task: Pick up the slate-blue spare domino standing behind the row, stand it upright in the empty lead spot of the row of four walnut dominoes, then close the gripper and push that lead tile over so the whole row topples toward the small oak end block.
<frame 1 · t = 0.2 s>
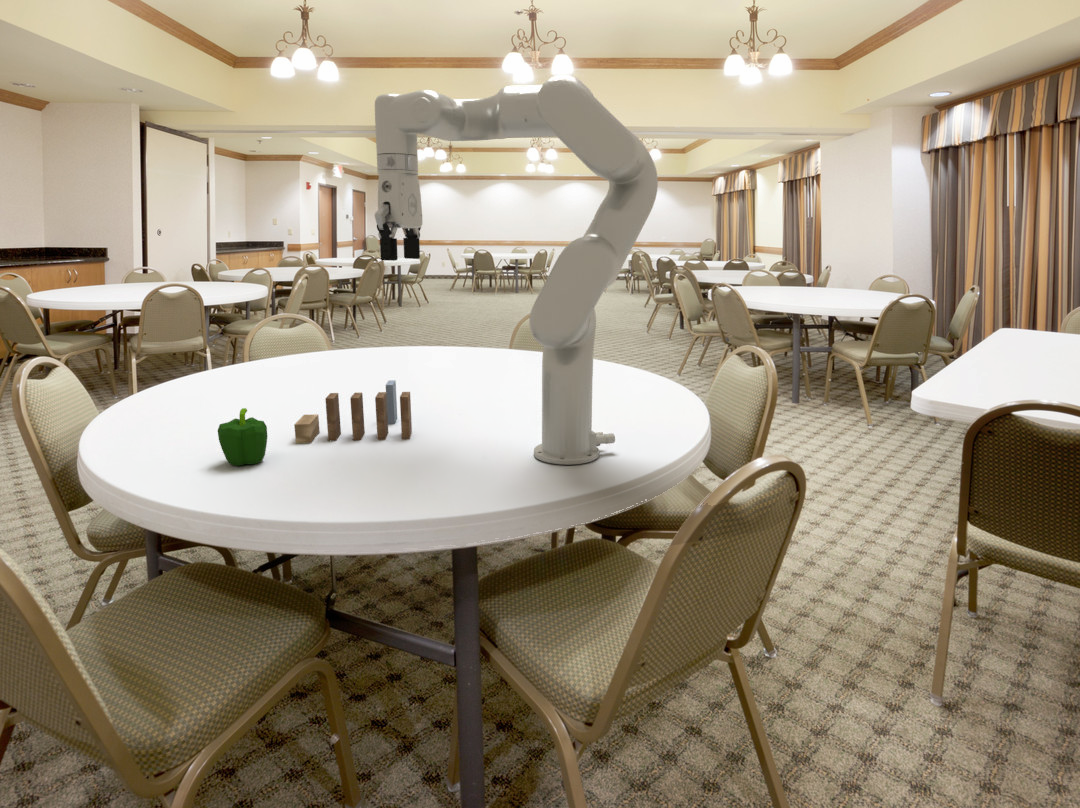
hand: (401, 259, 137), 37 cm above the table, fingers open, 9 cm apart
walnut tile 3: (359, 436, 149), on the table
oak end block: (308, 437, 148), on the table
slate tile: (392, 421, 162), on the table
bell pepper: (246, 463, 133), on the table
walnut tile 1: (406, 435, 150), on the table
walnut tile 2: (383, 436, 150), on the table
walnut tile 4: (334, 437, 149), on the table
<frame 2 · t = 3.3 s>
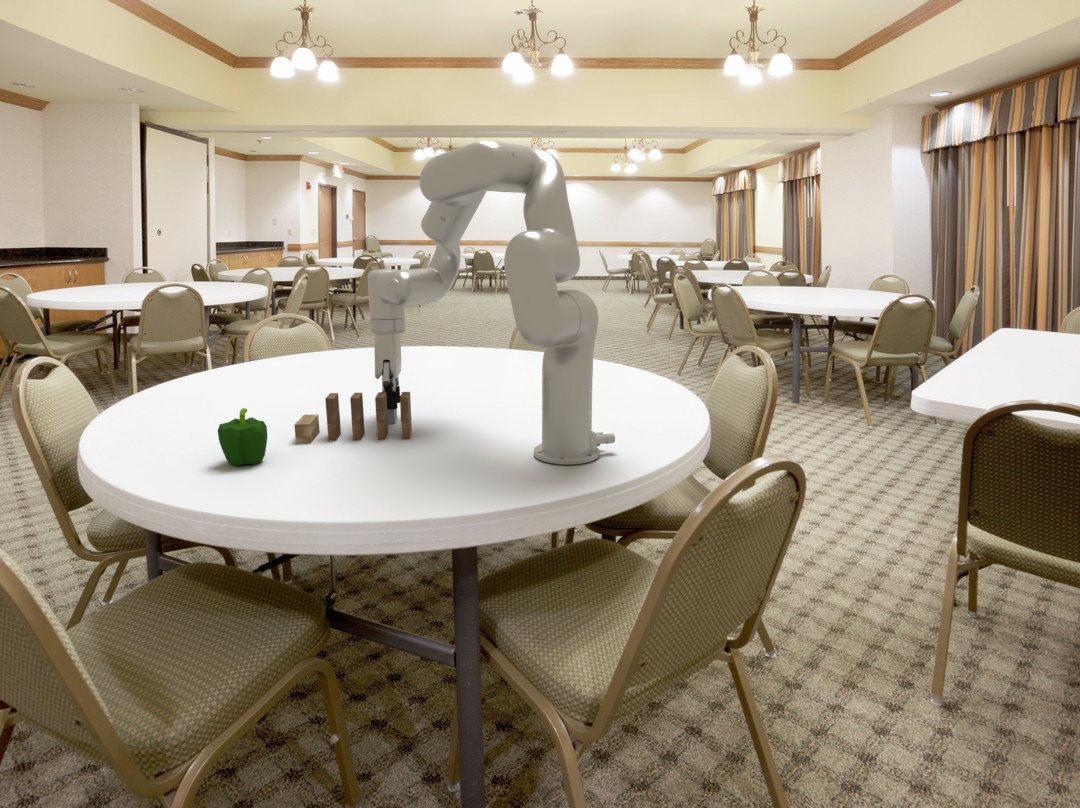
hand: (391, 405, 161), 4 cm above the table, fingers closed on slate tile, 4 cm apart
slate tile: (392, 421, 162), on the table, touching gripper
everything else where it was.
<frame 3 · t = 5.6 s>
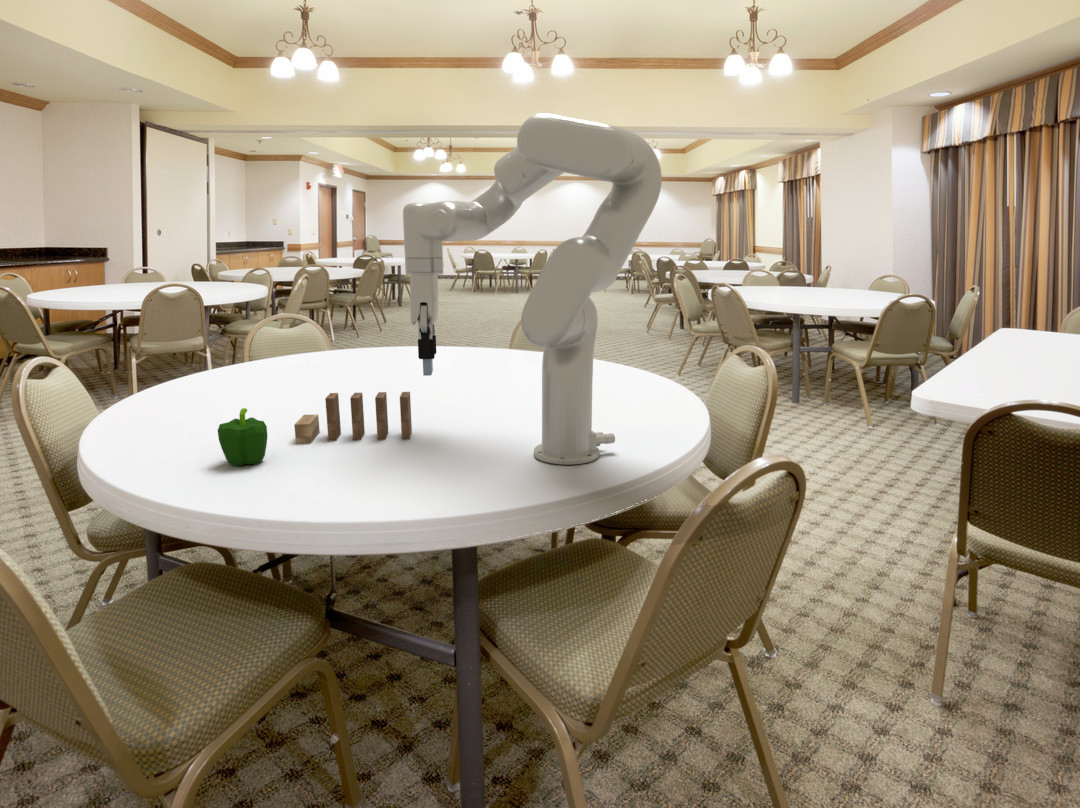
hand: (427, 355, 146), 17 cm above the table, fingers closed on slate tile, 4 cm apart
slate tile: (428, 373, 147), point 13 cm above the table, touching gripper
everything else where it was.
when the fingers open (5 cm above the table, at t = 8.3 s): slate tile stays where it is, on the table.
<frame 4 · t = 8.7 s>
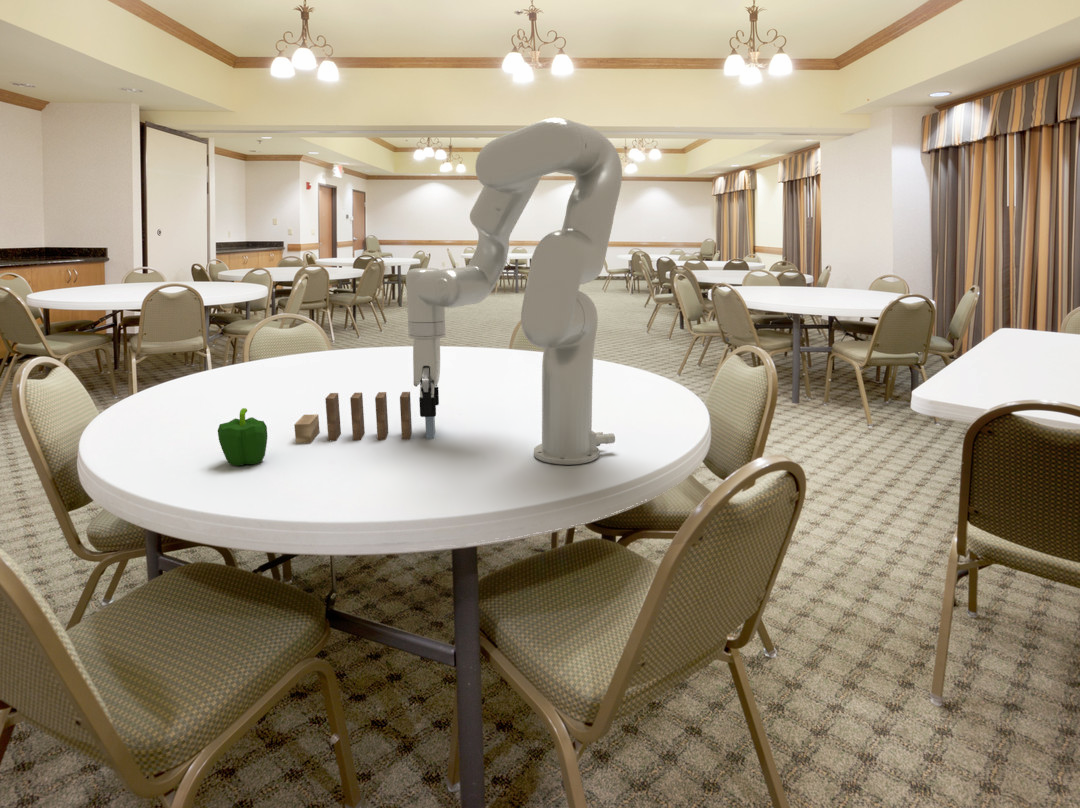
hand: (429, 410, 149), 5 cm above the table, fingers open, 9 cm apart
slate tile: (430, 435, 150), on the table
everything else where it was.
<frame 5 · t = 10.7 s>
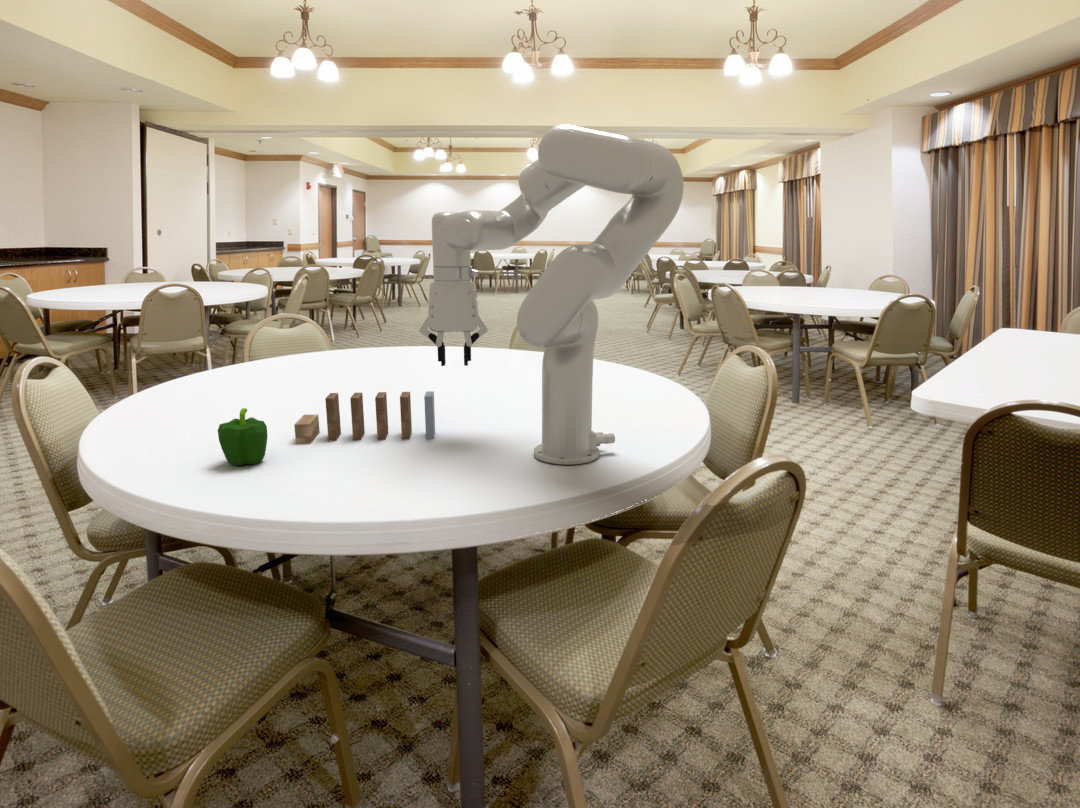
hand: (454, 363, 147), 15 cm above the table, fingers open, 4 cm apart
nothing on the table moved.
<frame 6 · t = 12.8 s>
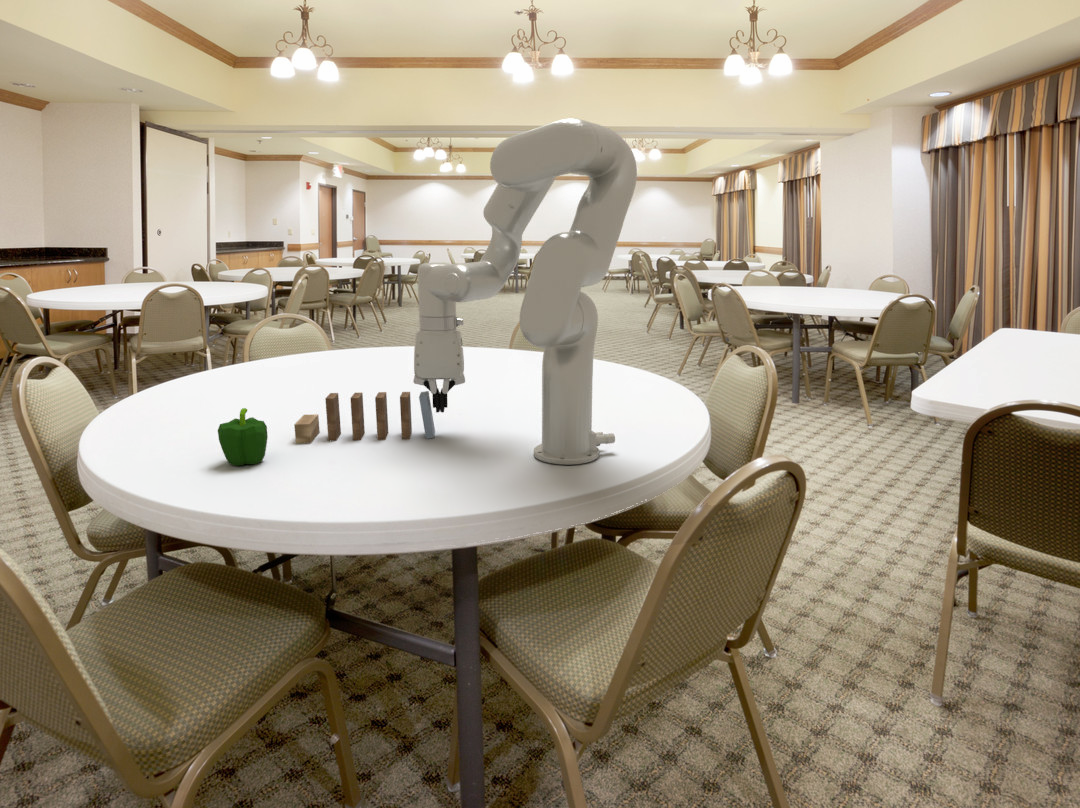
hand: (440, 410, 149), 5 cm above the table, fingers closed
slate tile: (430, 434, 150), on the table, tilted 7°, touching gripper
everything else where it was.
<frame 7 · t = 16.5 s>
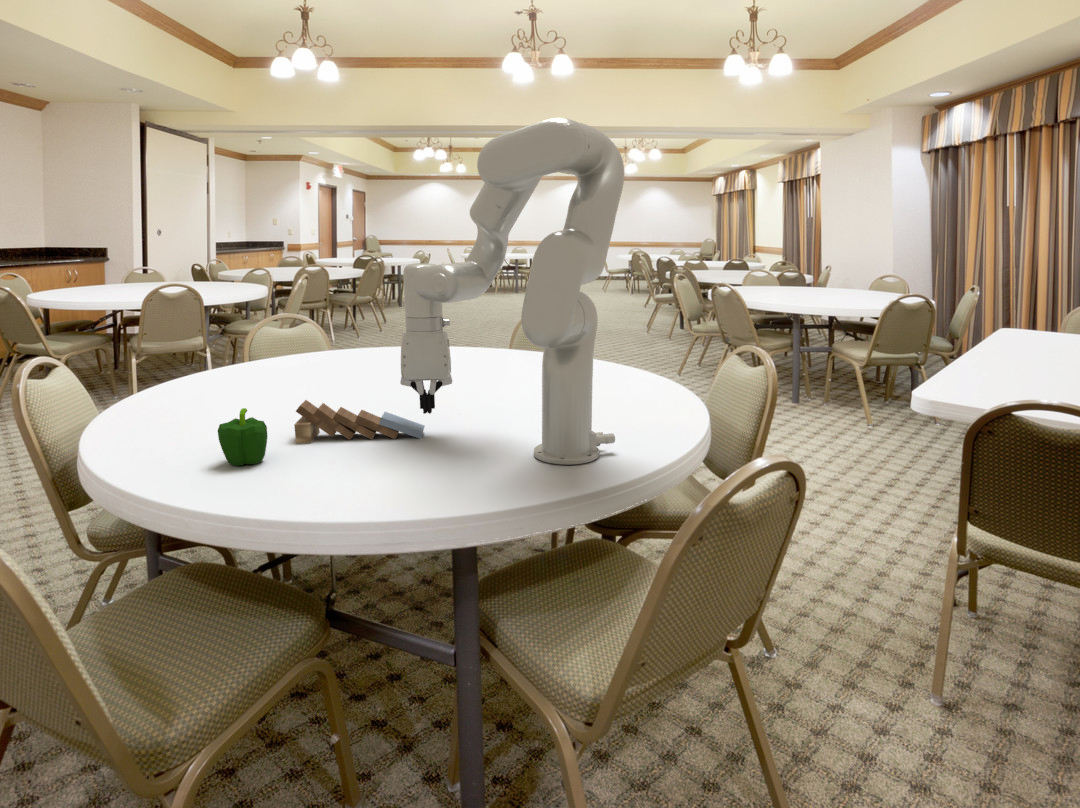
hand: (427, 411, 149), 5 cm above the table, fingers closed
walnut tile 3: (354, 434, 149), point 1 cm above the table, tilted 51°, touching walnut tile 2, walnut tile 4
slate tile: (422, 432, 150), point 1 cm above the table, tilted 68°, touching walnut tile 1
walnut tile 1: (398, 432, 150), point 1 cm above the table, tilted 65°, touching slate tile, walnut tile 2
walnut tile 2: (375, 433, 149), point 1 cm above the table, tilted 59°, touching walnut tile 1, walnut tile 3
walnut tile 4: (337, 430, 149), point 1 cm above the table, tilted 51°, touching oak end block, walnut tile 3
everything else where it was.
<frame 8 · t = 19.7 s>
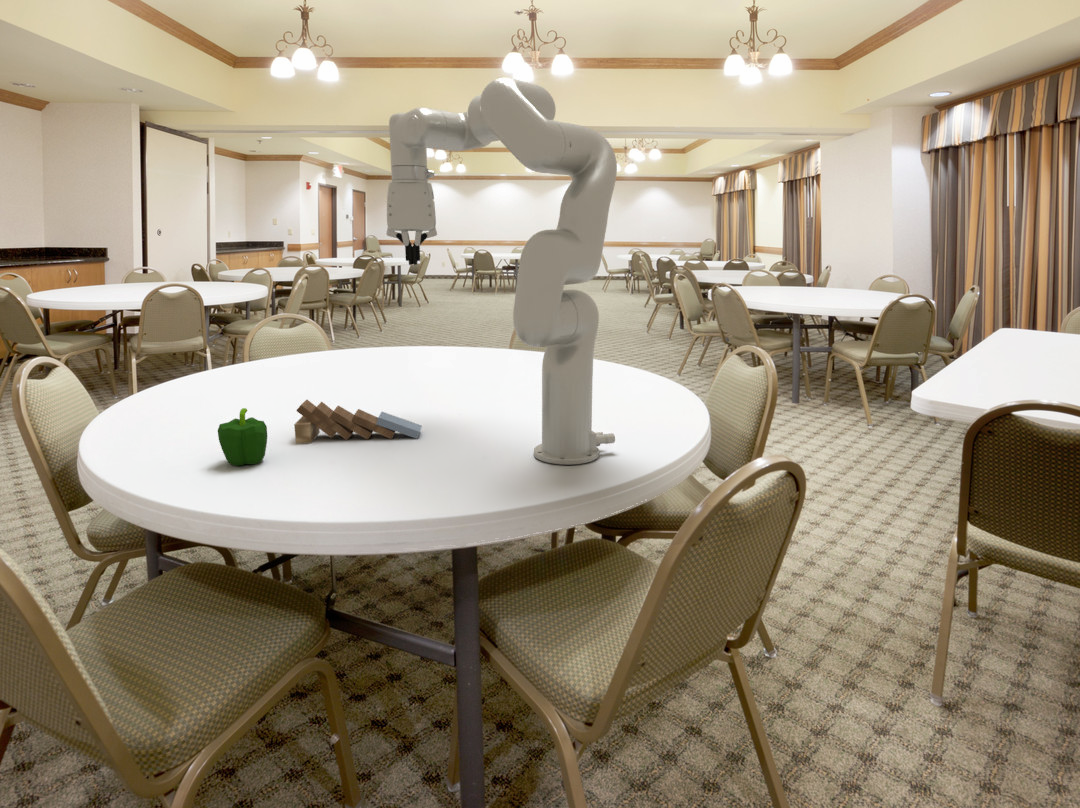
hand: (413, 264, 154), 35 cm above the table, fingers closed
at the end: walnut tile 4 tilted 48°; slate tile tilted 68°; the gripper is holding nothing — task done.
